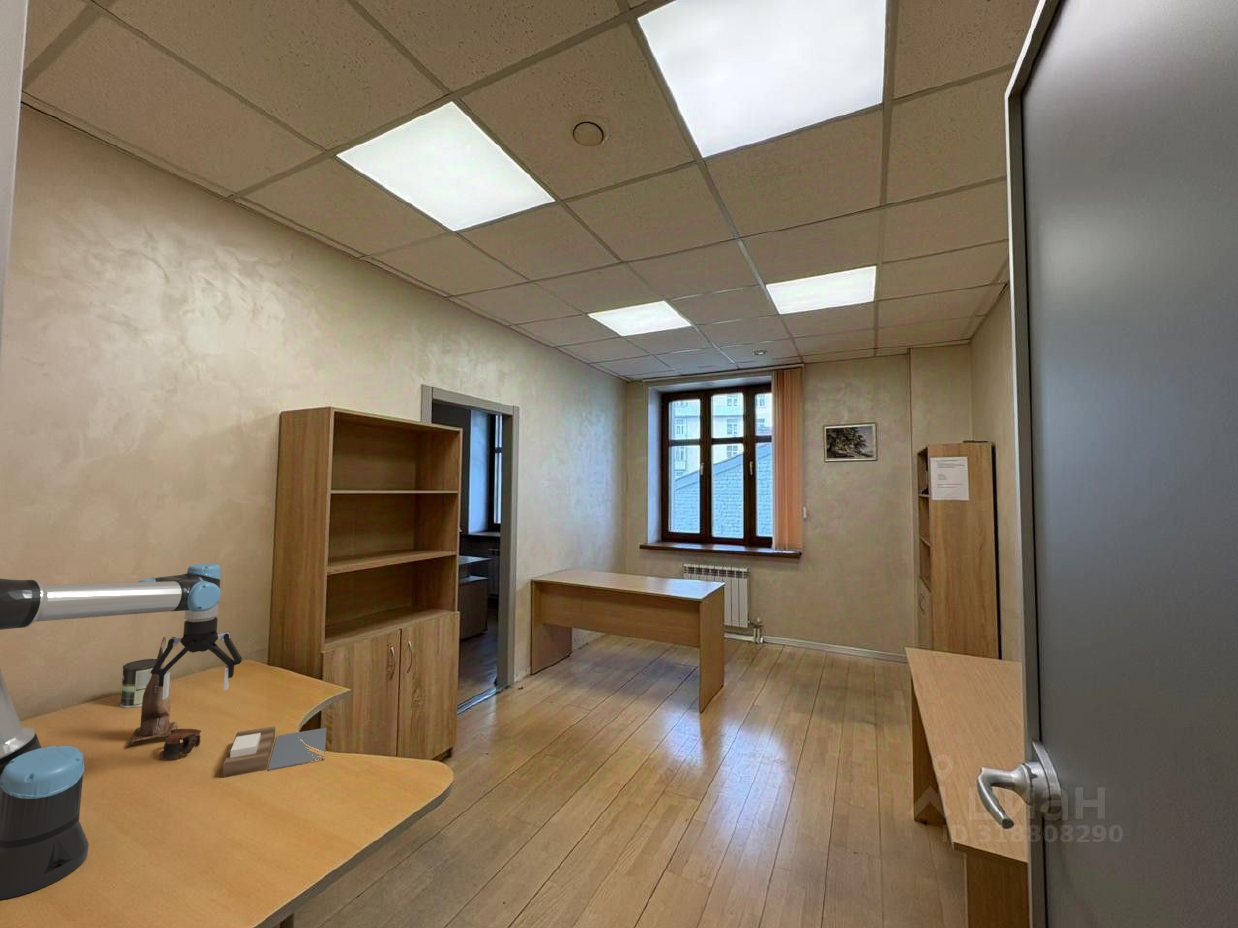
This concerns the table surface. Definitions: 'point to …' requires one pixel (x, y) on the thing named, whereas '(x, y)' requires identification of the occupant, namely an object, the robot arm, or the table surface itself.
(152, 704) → the brown tall tapered piece
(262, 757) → the block
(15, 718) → the robot arm
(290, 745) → the mat
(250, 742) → the white rectangular block
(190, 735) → the pottery mug
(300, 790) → the table surface
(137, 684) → the coffee can
